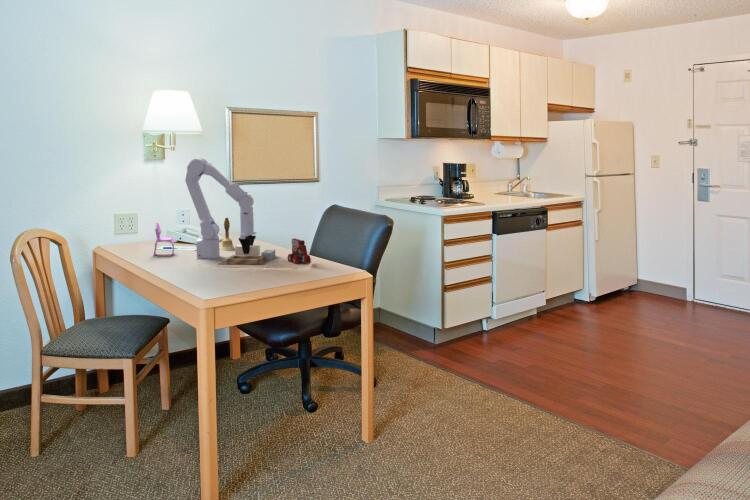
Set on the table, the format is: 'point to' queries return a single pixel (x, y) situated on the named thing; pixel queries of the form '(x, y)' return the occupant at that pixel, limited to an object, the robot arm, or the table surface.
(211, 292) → the table surface
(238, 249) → the tall white pillar block
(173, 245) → the toy chair
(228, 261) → the jig
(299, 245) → the toy fire truck
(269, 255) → the pale blue rectangular block
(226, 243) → the hand bell
